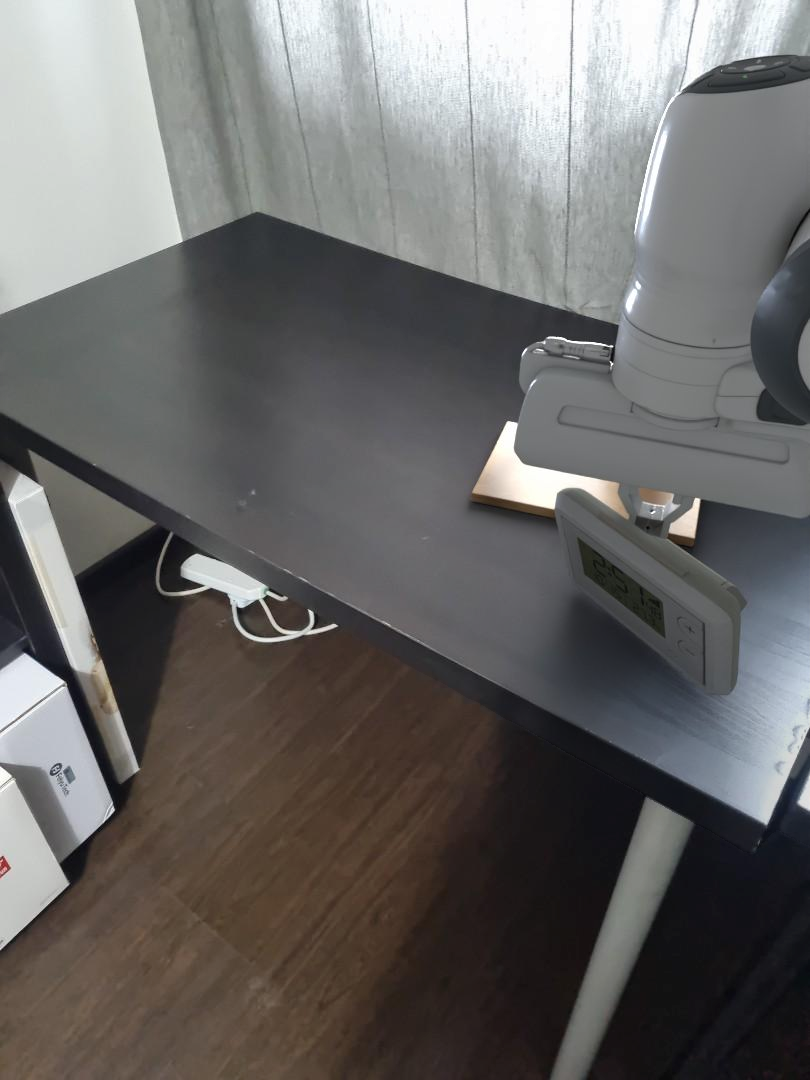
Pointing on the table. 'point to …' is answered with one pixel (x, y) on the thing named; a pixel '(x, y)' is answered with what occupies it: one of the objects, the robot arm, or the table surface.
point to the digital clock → (653, 590)
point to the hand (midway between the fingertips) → (647, 530)
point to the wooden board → (538, 489)
